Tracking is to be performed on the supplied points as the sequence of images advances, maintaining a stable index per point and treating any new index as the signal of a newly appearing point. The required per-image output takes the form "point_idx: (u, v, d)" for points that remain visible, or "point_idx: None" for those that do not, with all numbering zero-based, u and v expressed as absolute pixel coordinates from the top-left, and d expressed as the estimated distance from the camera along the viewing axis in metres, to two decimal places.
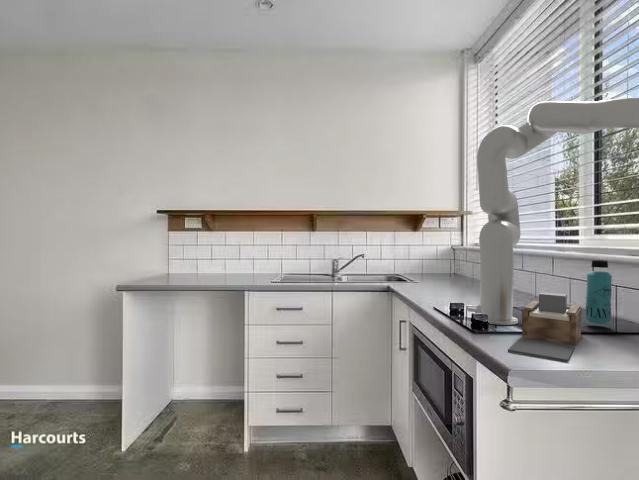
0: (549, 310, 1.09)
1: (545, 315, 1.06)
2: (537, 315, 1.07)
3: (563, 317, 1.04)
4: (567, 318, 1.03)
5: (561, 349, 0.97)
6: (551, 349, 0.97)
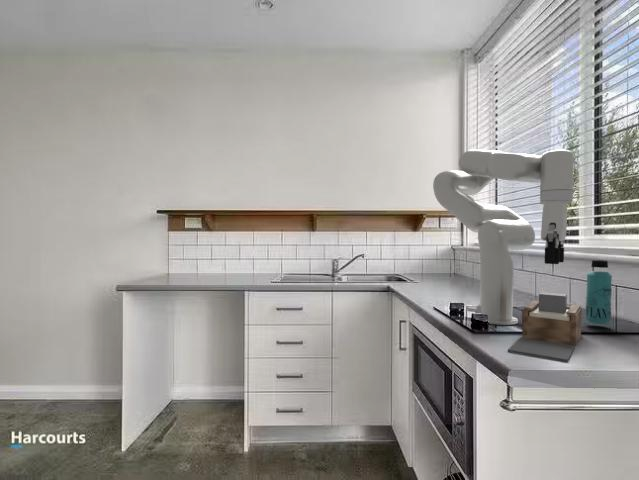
0: (549, 310, 1.09)
1: (545, 315, 1.06)
2: (537, 315, 1.07)
3: (563, 317, 1.04)
4: (567, 318, 1.03)
5: (561, 349, 0.97)
6: (551, 349, 0.97)
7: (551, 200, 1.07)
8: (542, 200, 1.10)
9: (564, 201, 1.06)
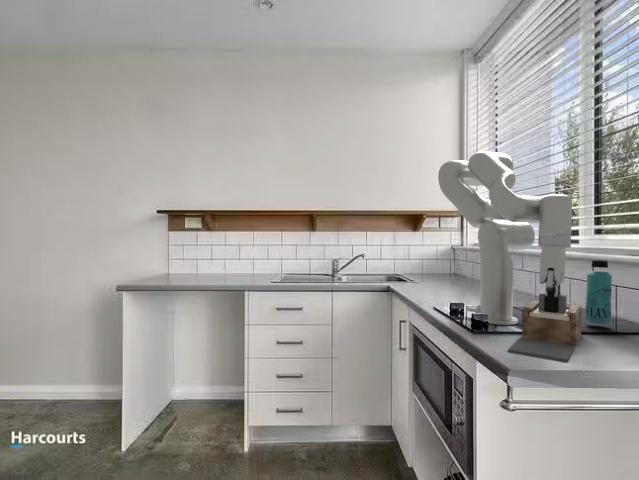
0: None
1: (545, 315, 1.06)
2: (537, 315, 1.07)
3: (563, 317, 1.04)
4: (567, 318, 1.03)
5: (561, 349, 0.97)
6: (551, 349, 0.97)
7: (549, 245, 1.08)
8: (540, 244, 1.10)
9: (562, 246, 1.07)
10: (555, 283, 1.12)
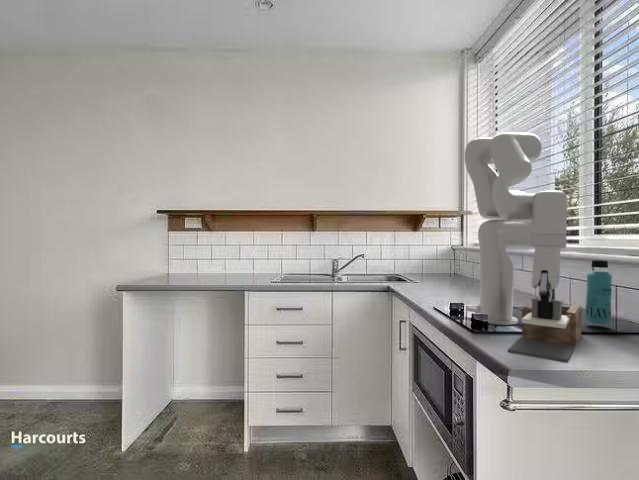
0: None
1: (538, 322, 0.98)
2: (530, 322, 0.99)
3: (558, 324, 0.95)
4: (562, 325, 0.95)
5: (561, 349, 0.97)
6: (551, 349, 0.97)
7: (543, 245, 0.99)
8: (533, 244, 1.01)
9: (557, 247, 0.98)
10: (549, 287, 1.04)
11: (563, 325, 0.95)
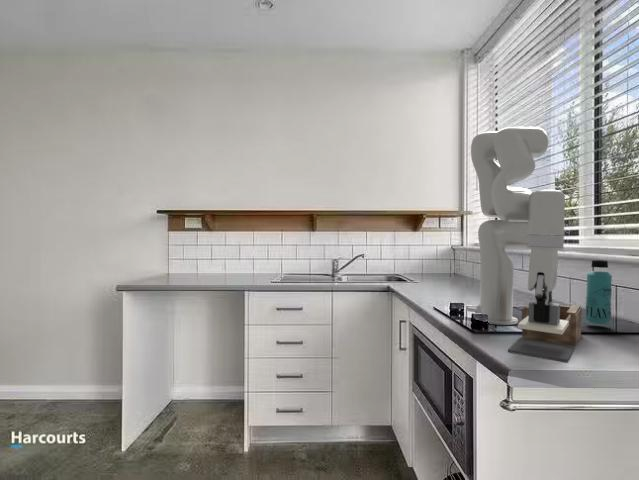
0: None
1: (535, 327, 0.94)
2: (526, 327, 0.95)
3: (555, 330, 0.92)
4: (560, 331, 0.91)
5: (561, 349, 0.97)
6: (551, 349, 0.97)
7: (539, 246, 0.96)
8: (529, 245, 0.98)
9: (554, 248, 0.95)
10: (546, 289, 1.00)
11: (561, 331, 0.91)
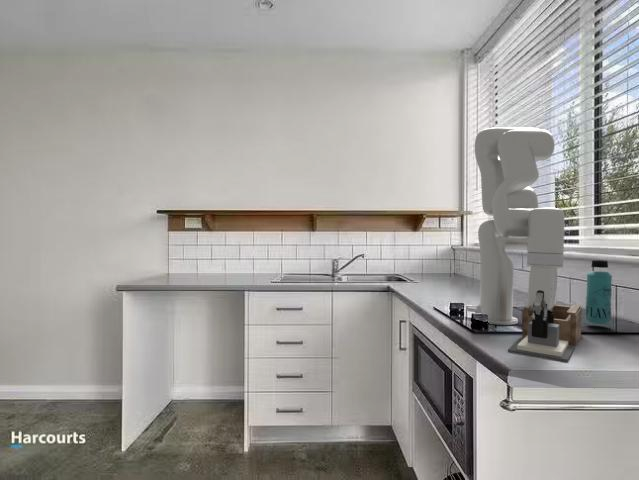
0: (539, 342, 0.97)
1: (534, 349, 0.94)
2: (526, 349, 0.95)
3: (555, 352, 0.92)
4: (559, 353, 0.91)
5: None
6: None
7: (539, 264, 0.96)
8: (529, 263, 0.98)
9: (553, 266, 0.95)
10: None
11: (560, 353, 0.91)
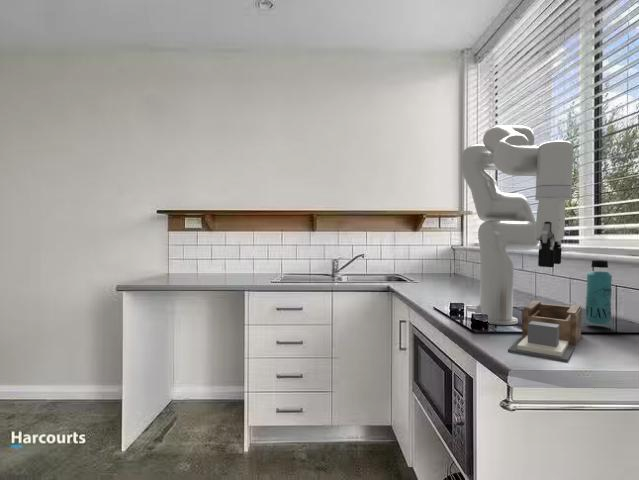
0: (539, 342, 0.97)
1: (534, 349, 0.94)
2: (526, 349, 0.95)
3: (555, 352, 0.92)
4: (559, 353, 0.91)
5: None
6: None
7: (547, 197, 0.97)
8: (537, 196, 1.00)
9: (561, 198, 0.96)
10: None
11: (560, 353, 0.91)
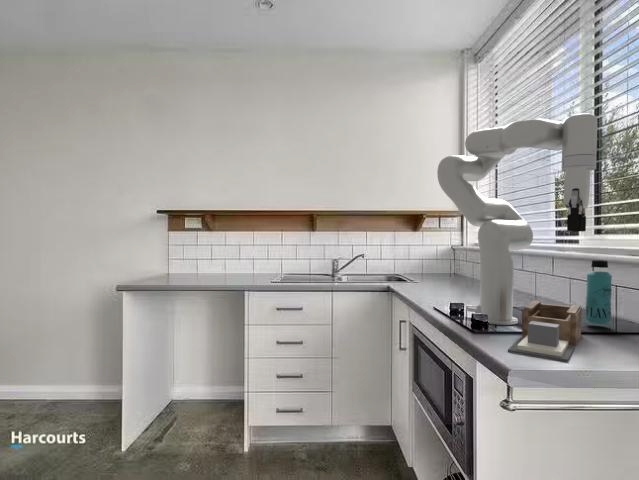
0: (539, 342, 0.97)
1: (534, 349, 0.94)
2: (526, 349, 0.95)
3: (555, 352, 0.92)
4: (559, 353, 0.91)
5: None
6: None
7: (574, 165, 1.04)
8: (564, 166, 1.06)
9: (588, 166, 1.03)
10: None
11: (560, 353, 0.91)
